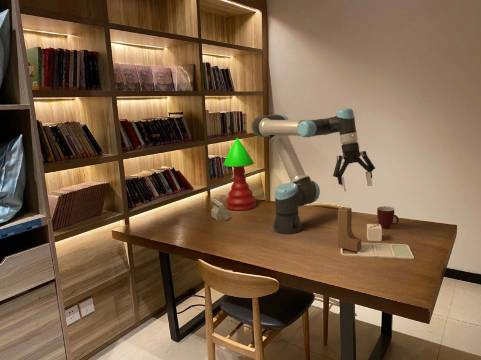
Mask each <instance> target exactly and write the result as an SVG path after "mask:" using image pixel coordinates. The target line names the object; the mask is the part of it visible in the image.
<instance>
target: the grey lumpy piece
mask: <svg viewBox="0 0 481 360" xmlns="http://www.w3.org/2000/svg"><path fill="white" fill-rule="evenodd" d="M211 203H212V208H211V210H210V215H211V218H213V219H214V218H215V219H216V221H217V220H218V219H223V220H225V221H229V219H230V216H229V214H228V212H227V210H226V206H224V203H223V202H221V201H219V200H218V199H216V198H211ZM215 219H214V220H215ZM218 221H219V220H218Z"/></svg>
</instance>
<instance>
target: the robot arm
mask: <svg viewBox="0 0 481 360" xmlns="http://www.w3.org/2000/svg"><path fill="white" fill-rule="evenodd" d="M354 114H355V113H354V110H353V109H352V108H344V109H340V110H339V109H338V110H337V111H336V112H335V116H331V117H327V118H325V117H324V118H317V119H289V118H288V117H287V116H286V115H285V114H281V113H279V114H278V113H275V114H267V115H259V116H257V117H255V118H254V119H253V121H252V123H251V130H252V132H253V134H254V135H256V136H257V137H259V138H263V137H264V138H267V137H268V139H269V141H270V142H272V143H273V144H274V146H275V148H276V151H277V152H278V155H279V157H280V160H281V161H282V163H283V166H284V169H285V171H286V173H287V175H288V177H289V180H290V182H287V183H282V184H280V185H278V186H276V187H275V189H274V201H275V202H274V203H275V217H274V220H273V224H272V230H273V232H275V233H278V234H285V235H286V234H287V235H290V234H296V233H299V232H301V231H302V230H303V224H302V220H301V218H300V215H299V208H300V207H303V206H307V205H311V204H313V203H315V202H316V201H318V199H319V198H320V194H321V192H320V191H321V190H320V186H319V184H318V183H317V182H316V181H314V180H312V179H311V177H310V176H309V175H307V174H306V173H305V171H304V168H303V166H302V164H301V162H300V159H299V157H298V155H297V153H296V150H295V148H294V147H293V144H292V142H291V140H290V137H289V136H291V137H292V136H296V137H302V138H311V137H317V136H327V135H331V134H336V133H338V134H339V141H340V144H341V151H342V155H336V162H335V163H336V164H335V166H334V171H333V174H332V176H333V177H335V178H337V182H338V185H340V189H341V190H340V191H341V192H347V190H346V184H345V178H344V176H343V175H344V173H345V172H346V169H347V167H348V166H349V164H353V163H357V164H359V165H360V166H361V167H362V168H363V169H364V170H365V176H366V177H365V178H366V183H367V186H368V187H373V182H372V179H373V172H374V170H376V166H375V165H374V163H373V162H372V161H371V159H370V158H369V156H368V154H367V151H366V150H362V151H360V145H359V142H358V140H359V139H358V133H357V128H356V120H355V119H356V118H355V115H354ZM361 157H362V158H361ZM343 160H344V161H343Z"/></svg>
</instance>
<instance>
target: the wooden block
mask: <svg viewBox="0 0 481 360" xmlns="http://www.w3.org/2000/svg"><path fill="white" fill-rule="evenodd" d="M352 215H353V214H352V207H346V206H341V207H339V208H337V222H338V223H337V232H338V233H337V235H338V237H337V243H338V248H339V249H341V248H343V249H344V250H348V251H351V252H356V253H358V251H360V249H361V243H362V239H361V238H359V237H357V236H355V235H354V233H353V229H352V228H353V227H352V225H353V224H352V221H353V220H352V219H353V218H352V217H353V216H352Z"/></svg>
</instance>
